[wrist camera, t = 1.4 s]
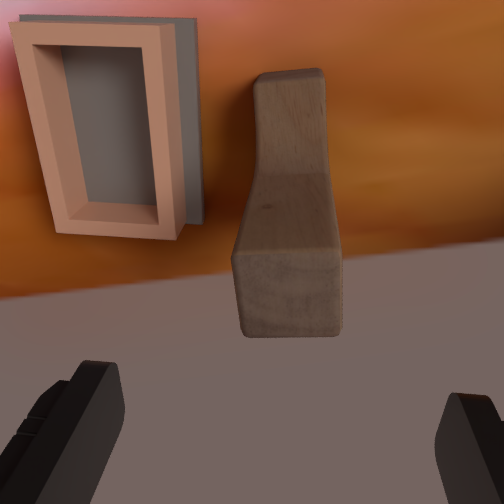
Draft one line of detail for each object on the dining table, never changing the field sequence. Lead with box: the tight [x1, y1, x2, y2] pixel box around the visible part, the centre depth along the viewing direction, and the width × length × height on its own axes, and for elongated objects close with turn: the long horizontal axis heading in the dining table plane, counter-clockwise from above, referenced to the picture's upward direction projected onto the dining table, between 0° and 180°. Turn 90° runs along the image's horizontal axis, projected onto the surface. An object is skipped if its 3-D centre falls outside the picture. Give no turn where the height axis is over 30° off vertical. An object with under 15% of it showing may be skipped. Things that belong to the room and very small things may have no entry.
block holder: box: [9, 14, 205, 240], centre depth 32 cm, size 12×15×4 cm
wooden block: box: [231, 68, 342, 338], centre depth 25 cm, size 9×4×18 cm, turn 5°
